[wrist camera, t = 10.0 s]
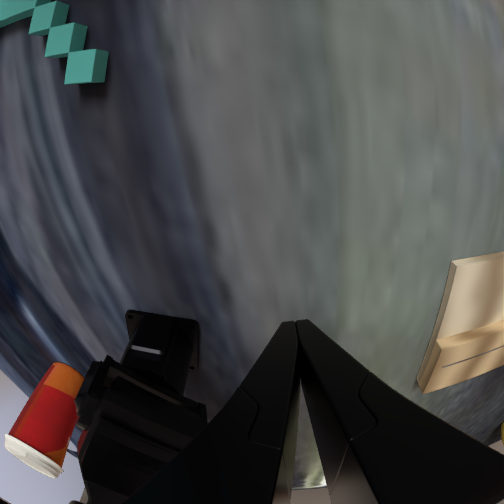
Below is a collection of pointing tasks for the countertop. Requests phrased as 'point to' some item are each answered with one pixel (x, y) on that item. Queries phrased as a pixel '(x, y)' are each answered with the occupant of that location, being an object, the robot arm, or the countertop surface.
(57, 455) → the paper cup
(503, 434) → the flower pot
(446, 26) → the countertop surface
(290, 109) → the countertop surface
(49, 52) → the alien figure
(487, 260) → the board
